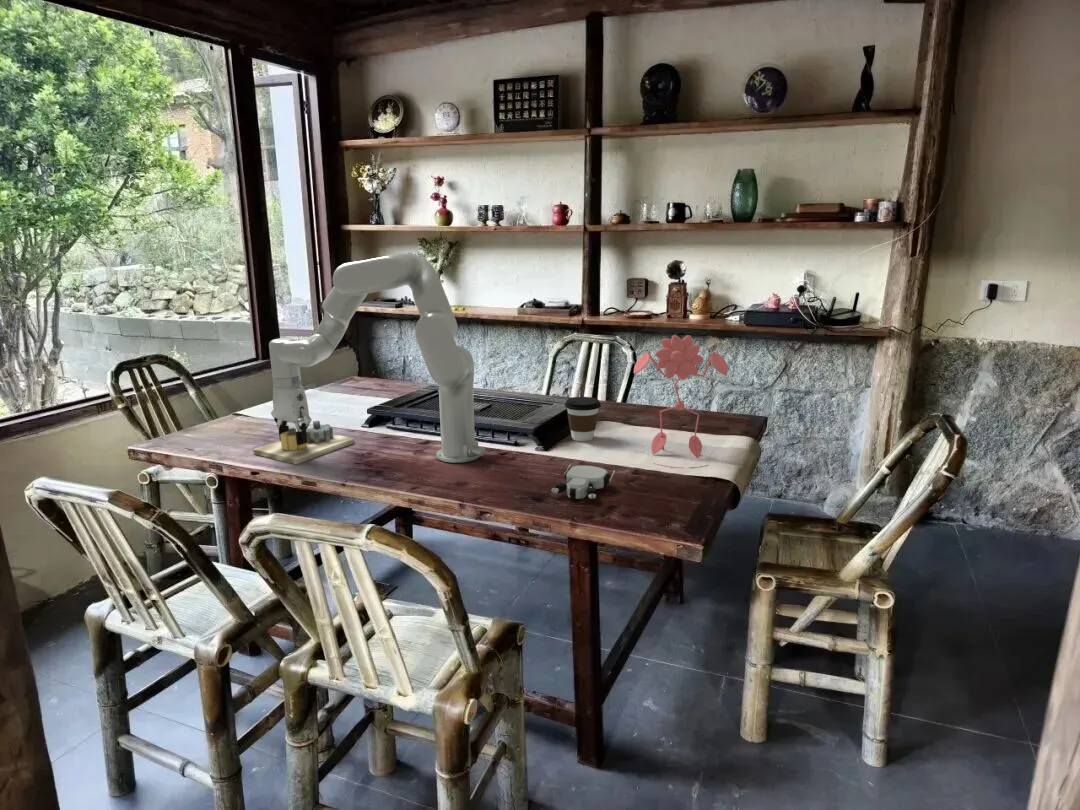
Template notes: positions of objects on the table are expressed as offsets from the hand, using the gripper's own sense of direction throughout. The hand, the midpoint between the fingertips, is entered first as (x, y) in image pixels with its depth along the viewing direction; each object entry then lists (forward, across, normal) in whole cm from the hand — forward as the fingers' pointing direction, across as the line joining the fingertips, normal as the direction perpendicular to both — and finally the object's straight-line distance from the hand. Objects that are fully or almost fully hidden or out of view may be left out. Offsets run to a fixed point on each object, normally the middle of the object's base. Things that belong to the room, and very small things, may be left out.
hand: (293, 441), depth 202 cm
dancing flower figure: (+4, -98, -49) cm, 110 cm away
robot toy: (+4, -87, -15) cm, 88 cm away
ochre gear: (+2, 0, 0) cm, 2 cm away
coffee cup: (+4, -67, -53) cm, 85 cm away
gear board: (+3, 0, -4) cm, 5 cm away
